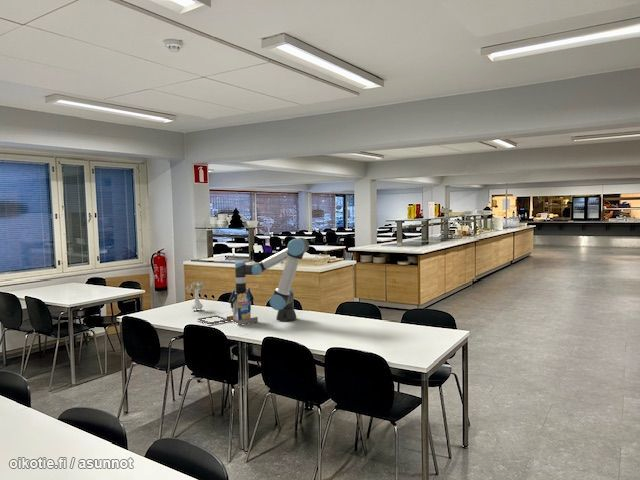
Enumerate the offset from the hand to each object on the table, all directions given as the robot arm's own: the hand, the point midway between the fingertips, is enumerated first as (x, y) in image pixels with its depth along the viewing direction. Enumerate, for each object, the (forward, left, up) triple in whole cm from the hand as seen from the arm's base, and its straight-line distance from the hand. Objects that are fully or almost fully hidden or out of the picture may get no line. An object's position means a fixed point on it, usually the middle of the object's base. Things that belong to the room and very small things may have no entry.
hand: (241, 311), depth 346 cm
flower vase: (+67, +7, -9) cm, 68 cm away
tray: (+18, +15, -8) cm, 25 cm away
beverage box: (0, 0, -9) cm, 9 cm away
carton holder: (0, 0, -8) cm, 8 cm away
